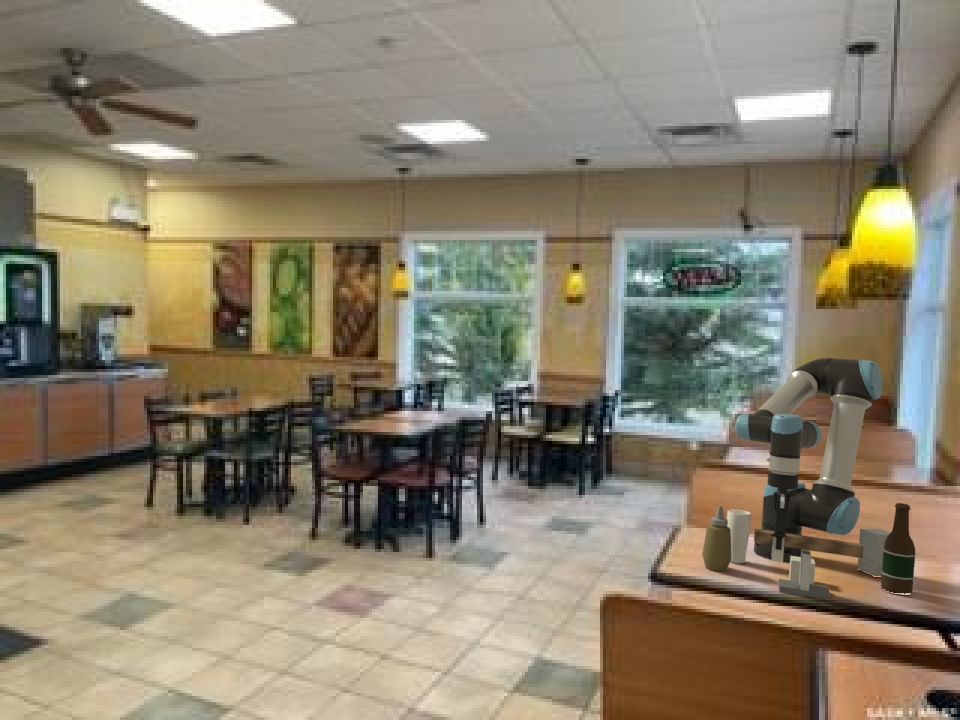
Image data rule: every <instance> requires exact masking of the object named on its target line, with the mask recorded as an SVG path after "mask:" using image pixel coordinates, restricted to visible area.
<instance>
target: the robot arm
mask: <svg viewBox="0 0 960 720" xmlns="http://www.w3.org/2000/svg"><path fill="white" fill-rule="evenodd" d="M883 386H884V385H883V374H882V370H881V368H880V366H879V364H878V363H877V362H875V361H872V360H867V359H865V360H864V359H853V358H852V359H850V358H848V359H847V358H832V357H821V358H817V359H813V360H811V361H808V362H806V363H804V364H802V365H800V366H798V367H797V368H796V369H794V370H793V371H792V372H791V373H789V375H788V376H787V378H786V382H785V383H784V384H783V385H782V386H781V387H780V388H779V389H778V390H777V391H775V393H773V395H771V396H770V397H769V398H768V399H767V400H766V402H764V403H763V404H762V405H761V406H760V407H759V408H758V409H757V410H756V411H755V412H754V413H752V414H750V413H742V414H739V415H738V417H737V418H736V420H735V424H734V430H735V434H736V436H737V438H739V439H740V440H745V441H749V442H755V443H764V444H770V445H769V447H770V450H769V457H767V459H766V462H768V469H769V471H768V473H767V483H765V486H764V491H763V495H762V497H763V498H762V499H763V501H762V514H761V515H762V517H761V527H760V529H761V530H768V531H775V532H774V534H771V536H773V545H770V544H763V543H757V542H754V544H753V552H754V553H755V554H756V553H757V555H758V556H761V557H763V558H765V559H771V561H774V562H779V563H783V562H785V563H790V556H796V557H801V549H797V548H790V547H784V539H785V535H786V534H785V533H789V534H796V535H803V533H802V532H803V528H807V529H812V530H816V531H819V532H824V533H828V534H830V535H833V534H834V535H839V536H846V535H849V533H851V532H852V531H853V530H854V528H855V526H856V525H857V522H858V520H859V516H860V512H861V509H860V508H861V502H860V500H859V499H858V498H857V497H856V492H855V490H854V489H853V487H852V480H853V475H854V471H855V464H856V459H857V453H858V449H859V443H860V437H861V433H862V427H863V423H864V417H865V412H866V410H867V409H869V408H870V407H872V406H873V405H872V404H873V400H879V399H880V398H881V396H882V394H883ZM815 395H827V396H828V395H829V399H830V401H831V402H832V403H833V409H832V414H831V418H830V419H831V420H830V423H829V428H828V434H827V440H826V445H825V449H824V453H823V460H822V465H821V469H820V474H819V478H818V479H817V480H816V481H813V482H812V487H811V489H810V488H806V487H807V486H806V484H805V482H801V481H799V475H798V474H799V473H800V468H801V467H800V465H801V451H802V450H801V449H810V448H812V447H815V446H817V445H818V444H819V443H820V441H821V438H822V431H821V428H820V426H819V425H818V424H817V423H816V422H814V421H810V420H803V417H802V416H800V415H795V414H793V412H794V411H795V410H796V409H797V408H798V407H799V406H801V405H802V403H804V402H805V401H806V399H810V398H812V397H814V396H815Z"/></svg>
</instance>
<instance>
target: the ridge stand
mask: <svg viewBox="0 0 960 720" xmlns="http://www.w3.org/2000/svg"><path fill="white" fill-rule="evenodd" d="M811 559H812V554H811V551H810V550H804V549H801V561H800V575H799V582H796V581H790V580H789V579H783V578H778V590H779V593H785V594H790V595H794V596H795V595H796V596H802V597H808V598H813V599H818V598H821V599H820V600H824V599H828V600H827V601H831V593H830V590H829V587H828V586H825V585H820V584H815V583H814V584H810V571H811Z"/></svg>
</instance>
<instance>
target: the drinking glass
mask: <svg viewBox="0 0 960 720" xmlns="http://www.w3.org/2000/svg"><path fill="white" fill-rule="evenodd" d="M726 519H727V520H728V526H727V527H729V528H730V530H731V561H730V563H732V564H735V565H736V564H737V565H738V564H739V565H740V564H742V565H743V564H744V563H746V557H747V549H748V545H749V537H750V531H751V525H752V523H751V522H752V513H751V512H750V511H747V510H743V509H736V508H735V509H733V508H732V509H727V513H726Z"/></svg>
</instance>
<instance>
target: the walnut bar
mask: <svg viewBox="0 0 960 720" xmlns="http://www.w3.org/2000/svg"><path fill="white" fill-rule="evenodd" d="M774 532H775V531H768V530H761V528H760V529H759V528H754V538H753V542H754V543H755V542H757V543H763V544H770V545H773V536H771V534H774ZM785 534H786V535H785V539H784V547H790V548H797V549H804V550H810V552H819V553H825V554H830V555H831V554H832V555H839V556H844V557H852V558H857V559H858V558H863V545H862V544H859V542H858V543H857V542H850V541H846V540H845V541H844V540H838V539H829V538H823V537H817V536H816V537H815V536H810V535H803V534H802V535H796V534H789V533H785Z"/></svg>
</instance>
